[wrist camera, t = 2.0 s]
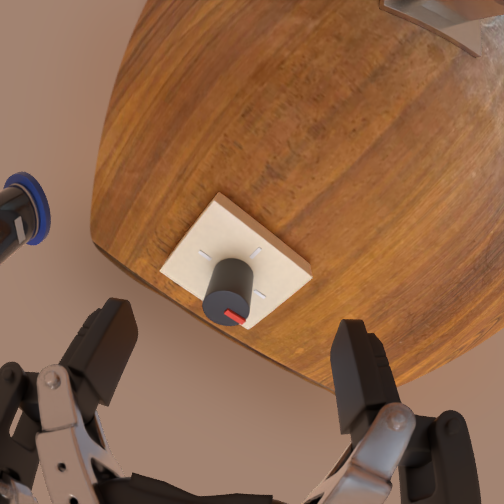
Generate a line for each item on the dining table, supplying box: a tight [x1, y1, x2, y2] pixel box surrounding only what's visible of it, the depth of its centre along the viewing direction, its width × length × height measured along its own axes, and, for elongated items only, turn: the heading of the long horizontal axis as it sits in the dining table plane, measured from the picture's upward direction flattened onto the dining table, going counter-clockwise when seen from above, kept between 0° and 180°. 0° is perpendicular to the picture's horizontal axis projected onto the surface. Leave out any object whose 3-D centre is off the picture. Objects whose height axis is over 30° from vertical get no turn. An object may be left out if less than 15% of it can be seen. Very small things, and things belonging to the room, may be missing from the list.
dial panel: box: [160, 192, 313, 330], centre depth 28 cm, size 12×10×3 cm
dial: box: [202, 258, 254, 326], centre depth 24 cm, size 4×4×5 cm
